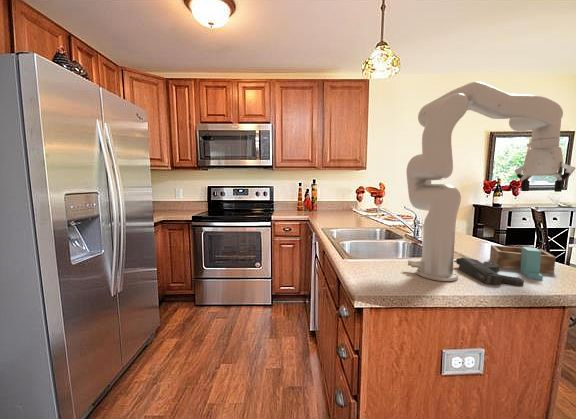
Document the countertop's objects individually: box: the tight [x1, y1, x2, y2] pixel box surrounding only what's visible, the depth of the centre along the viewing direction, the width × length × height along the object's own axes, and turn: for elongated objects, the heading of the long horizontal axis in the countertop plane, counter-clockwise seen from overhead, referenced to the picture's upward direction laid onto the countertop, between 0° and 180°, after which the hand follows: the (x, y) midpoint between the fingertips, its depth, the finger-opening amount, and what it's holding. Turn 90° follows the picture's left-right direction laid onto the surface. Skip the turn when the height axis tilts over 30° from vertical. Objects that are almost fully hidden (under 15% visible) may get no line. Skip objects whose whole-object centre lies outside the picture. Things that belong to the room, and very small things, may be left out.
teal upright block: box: [519, 246, 544, 281], centre depth 93 cm, size 4×9×9 cm, turn 154°
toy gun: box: [453, 257, 525, 287], centre depth 93 cm, size 5×19×15 cm
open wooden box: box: [489, 244, 556, 274], centre depth 105 cm, size 16×12×6 cm
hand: (540, 191), depth 100 cm, fingers open, 9 cm apart
